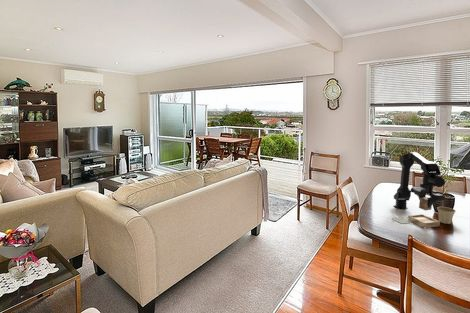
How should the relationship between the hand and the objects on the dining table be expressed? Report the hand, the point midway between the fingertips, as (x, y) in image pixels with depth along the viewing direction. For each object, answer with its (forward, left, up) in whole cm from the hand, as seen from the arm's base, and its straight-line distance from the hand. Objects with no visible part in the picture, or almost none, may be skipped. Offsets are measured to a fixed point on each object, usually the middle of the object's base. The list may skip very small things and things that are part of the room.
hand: (425, 206), depth 166 cm
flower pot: (+2, +15, -12) cm, 19 cm away
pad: (-6, -10, -11) cm, 16 cm away
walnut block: (0, 0, -2) cm, 2 cm away
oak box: (0, 0, -11) cm, 11 cm away
